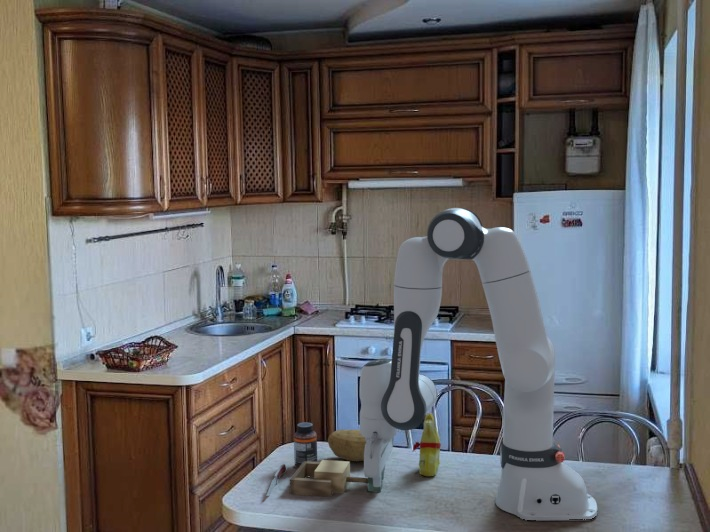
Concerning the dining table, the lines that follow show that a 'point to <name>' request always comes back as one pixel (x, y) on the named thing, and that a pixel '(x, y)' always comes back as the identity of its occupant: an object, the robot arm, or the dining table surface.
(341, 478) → the oak block with dowel handle
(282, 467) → the knife
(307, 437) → the supplement bottle
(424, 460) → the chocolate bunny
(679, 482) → the dining table surface
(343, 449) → the potato
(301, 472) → the tan piece
